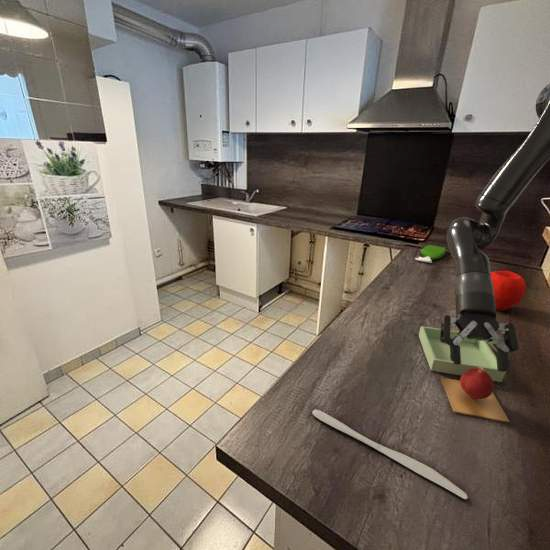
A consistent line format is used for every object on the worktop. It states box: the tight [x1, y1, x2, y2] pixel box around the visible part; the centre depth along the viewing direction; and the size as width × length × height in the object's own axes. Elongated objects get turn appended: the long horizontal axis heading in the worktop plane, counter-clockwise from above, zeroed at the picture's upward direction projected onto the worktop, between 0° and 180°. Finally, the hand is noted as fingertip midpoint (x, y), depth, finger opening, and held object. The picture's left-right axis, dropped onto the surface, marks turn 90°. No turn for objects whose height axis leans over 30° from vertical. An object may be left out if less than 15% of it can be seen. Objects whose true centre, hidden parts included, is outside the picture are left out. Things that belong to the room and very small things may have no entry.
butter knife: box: [311, 408, 468, 500], centre depth 52 cm, size 1×27×3 cm
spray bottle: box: [414, 244, 447, 264], centre depth 149 cm, size 3×11×24 cm
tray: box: [418, 325, 507, 383], centre depth 76 cm, size 15×15×3 cm
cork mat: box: [440, 377, 510, 424], centre depth 63 cm, size 10×10×1 cm
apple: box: [491, 270, 527, 312], centre depth 98 cm, size 12×12×13 cm
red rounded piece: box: [459, 367, 495, 399], centre depth 62 cm, size 6×6×8 cm
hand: (479, 367), depth 62 cm, fingers open, 8 cm apart
